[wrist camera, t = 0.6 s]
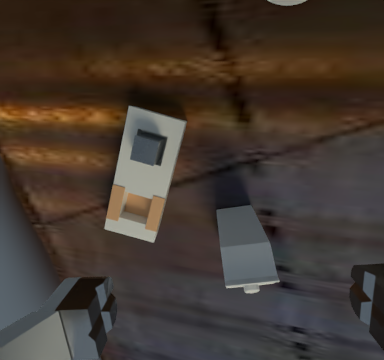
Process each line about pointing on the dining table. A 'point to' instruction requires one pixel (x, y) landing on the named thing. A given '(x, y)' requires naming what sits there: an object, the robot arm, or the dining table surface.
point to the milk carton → (245, 249)
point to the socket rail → (143, 176)
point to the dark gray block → (147, 148)
